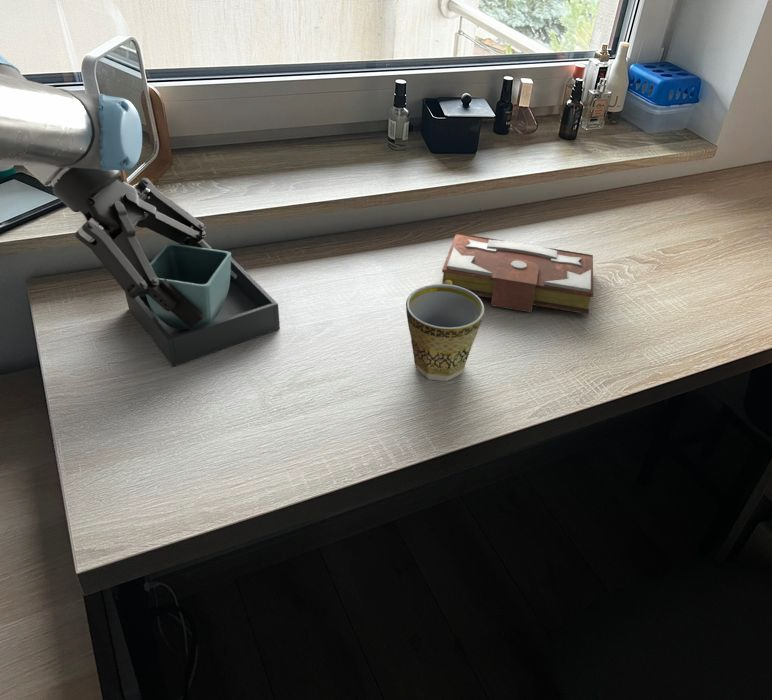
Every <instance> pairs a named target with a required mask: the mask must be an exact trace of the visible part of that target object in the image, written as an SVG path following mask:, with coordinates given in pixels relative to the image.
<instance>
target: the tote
mask: <svg viewBox="0 0 772 700" xmlns="http://www.w3.org/2000/svg"><path fill="white" fill-rule="evenodd" d="M231 270H232V271H233V272H234V273H235V274H236V275H237V278H236V279H235V280H234V281H232V282H231V283H230V286H229V290H228V294H227V297H226V299H225V302H224V304H223V306H222V308H221V310H220V311H219V313H218V315H217V316H216V318H215V319H214V321H213V322H212V323H211V324H208V325H205V326H202V327H199V328H196V329H193V330H188V329H181V328H174V327H170V326H168V325H167V324H165V323H164V322H163V321H162V320H161V319H160V318H159V317H158V316H157V315H156V314H155V313H154V311H153V310H152V308H151V306H150V304H149V302H148V300H147V297H146V295H145V296H144V297H140V296H137V297H136V298H131V297H129V296H128V295H127V293H126V292H125V291H124V294H125V299H126V303H127V306H128V310H129V311H130V312H131V313H132V315H133V316H134V317H135V319H136V320H137V322H138V323H139V324H140V325H141V327H142V328H143V329H144V331H146V334H147V335H148V336H149V337H150V339H151V340H152V342H153V343H154V344H155V345H156V347H157V348H158V349H159V350H160V352H161V353H162V355H163V356H164V357H165V358H166V360H167V361H168V363H169V364H170V365H171V366H172V367H173V368H174V367H176V366H179V365H182V364H184V363H185V364H186V363H188V362H191V361H193V360H196V359H199V358H202V357H205V356H208V355H210V354H213V353H216V352H218V351H222V350H225V349H228V348H230V347H234V346H236V345H238V344H242V343H244V342H247V341H250V340H252V339H255V338H258V337H261V336H265V335H267V334H269V333H272V332H276V331H278V330H280V329H281V327H280V326H281V324H280V323H281V321H280V310H279V309H280V308H279V303H278V302H277V301H276V300H275V299H274V298H273V297H272V296H271V295H270V294H269V293H268V292H267V291H266V290H265V289H264V288H263V287H262V286H261V285H260V284H259V283H258V282H257V281H256V280H255V279H254V278H253V277H252V276H251V275H250V274H249V273H248V272H247V271H246V270H245V269H244V268H243V267H242V266H241V265H240V264H239V263H238V261H236V260H235V259H234V258H233V257H232V256H231ZM133 286H134V284H133Z"/></svg>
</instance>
